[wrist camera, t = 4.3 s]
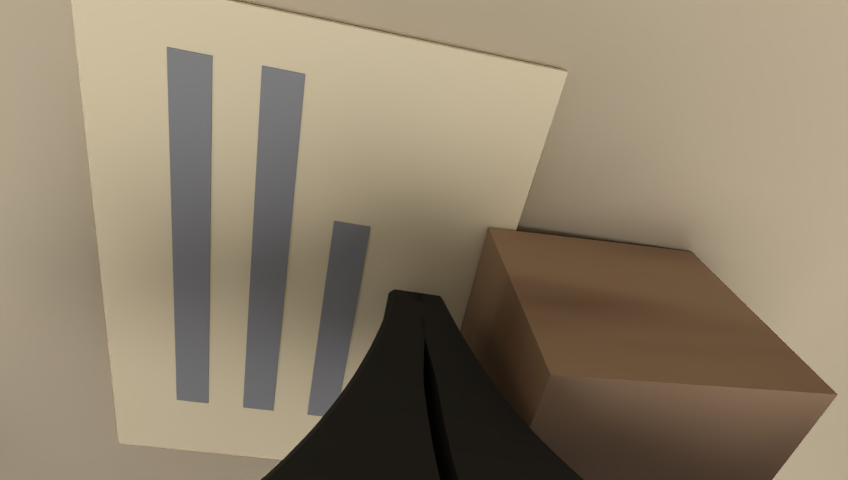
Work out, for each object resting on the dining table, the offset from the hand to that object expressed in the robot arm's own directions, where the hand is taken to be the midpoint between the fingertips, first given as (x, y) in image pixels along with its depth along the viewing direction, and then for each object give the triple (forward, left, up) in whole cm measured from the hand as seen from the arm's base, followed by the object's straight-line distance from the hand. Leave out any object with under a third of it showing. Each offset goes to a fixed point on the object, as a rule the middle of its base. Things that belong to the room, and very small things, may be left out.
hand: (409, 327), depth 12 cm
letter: (0, +3, -1) cm, 3 cm away
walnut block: (0, -4, -1) cm, 4 cm away
